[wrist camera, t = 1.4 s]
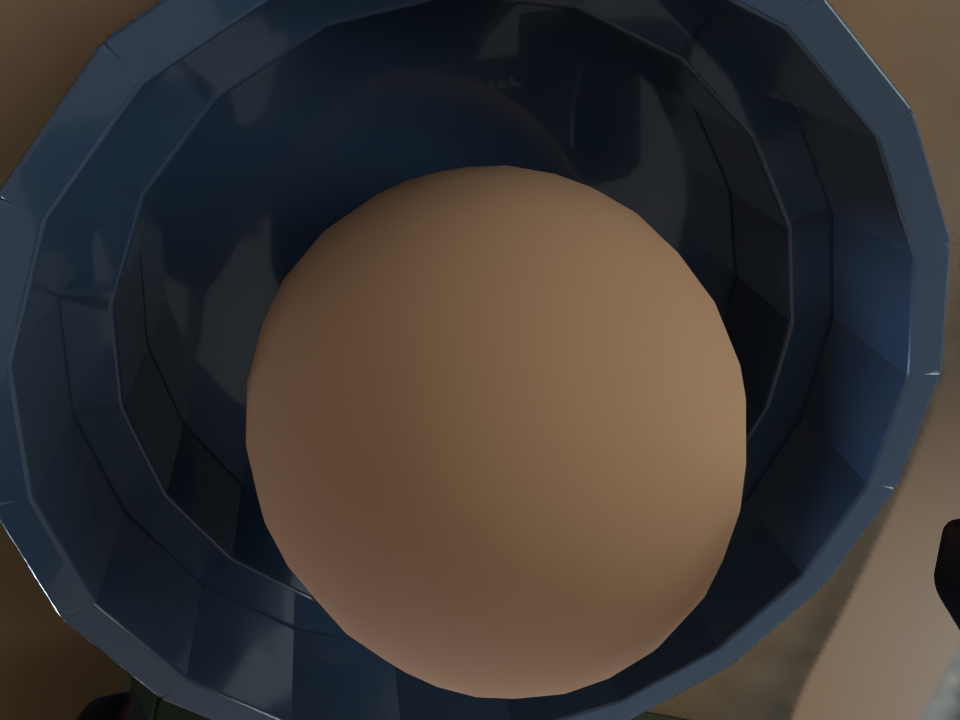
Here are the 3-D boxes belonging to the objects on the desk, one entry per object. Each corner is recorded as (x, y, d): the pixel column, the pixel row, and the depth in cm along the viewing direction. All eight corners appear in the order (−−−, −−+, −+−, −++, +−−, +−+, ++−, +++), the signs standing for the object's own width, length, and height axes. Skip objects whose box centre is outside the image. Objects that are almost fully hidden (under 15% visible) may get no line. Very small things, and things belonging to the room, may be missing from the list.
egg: (268, 91, 14) (220, 287, 7) (675, 140, 16) (996, 342, 8) (253, 460, 17) (210, 868, 10) (593, 470, 19) (773, 827, 12)
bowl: (-6, 495, 17) (-113, 693, 13) (190, -290, 12) (121, -403, 8) (596, 626, 22) (667, 803, 18) (921, 99, 17) (1136, 164, 12)
